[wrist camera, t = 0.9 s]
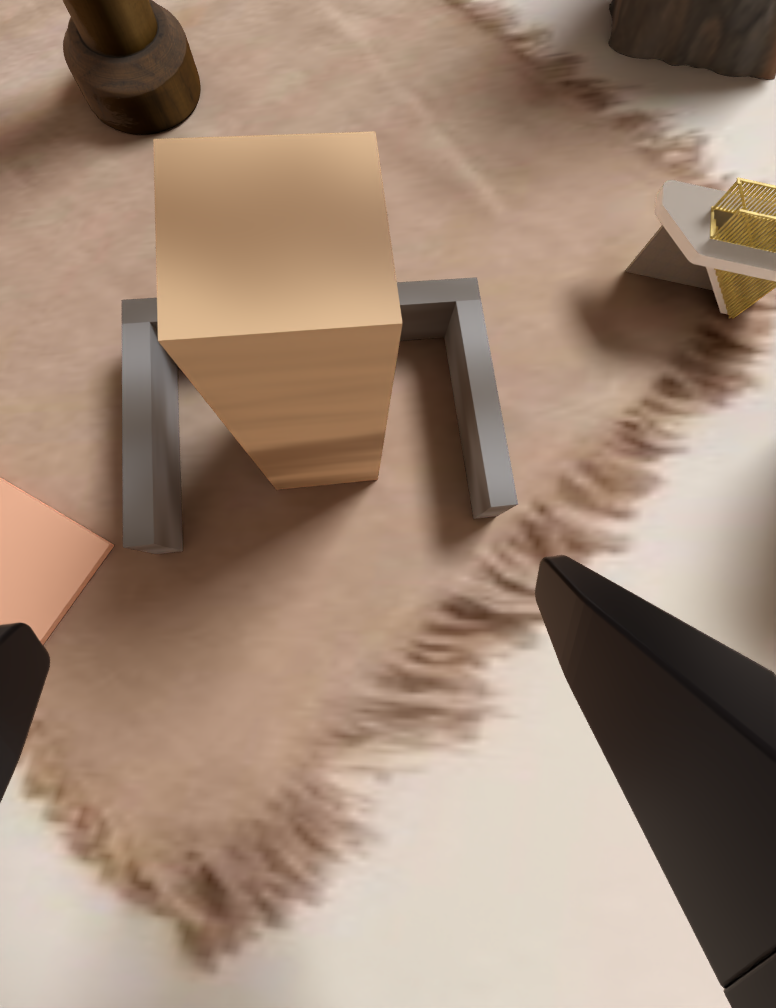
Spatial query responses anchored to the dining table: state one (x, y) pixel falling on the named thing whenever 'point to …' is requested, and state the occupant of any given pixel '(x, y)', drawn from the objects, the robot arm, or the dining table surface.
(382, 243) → the block
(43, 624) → the mat
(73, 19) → the mortar and pestle
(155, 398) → the nook
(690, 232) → the platform
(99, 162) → the dining table surface
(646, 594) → the dining table surface
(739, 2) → the owl
